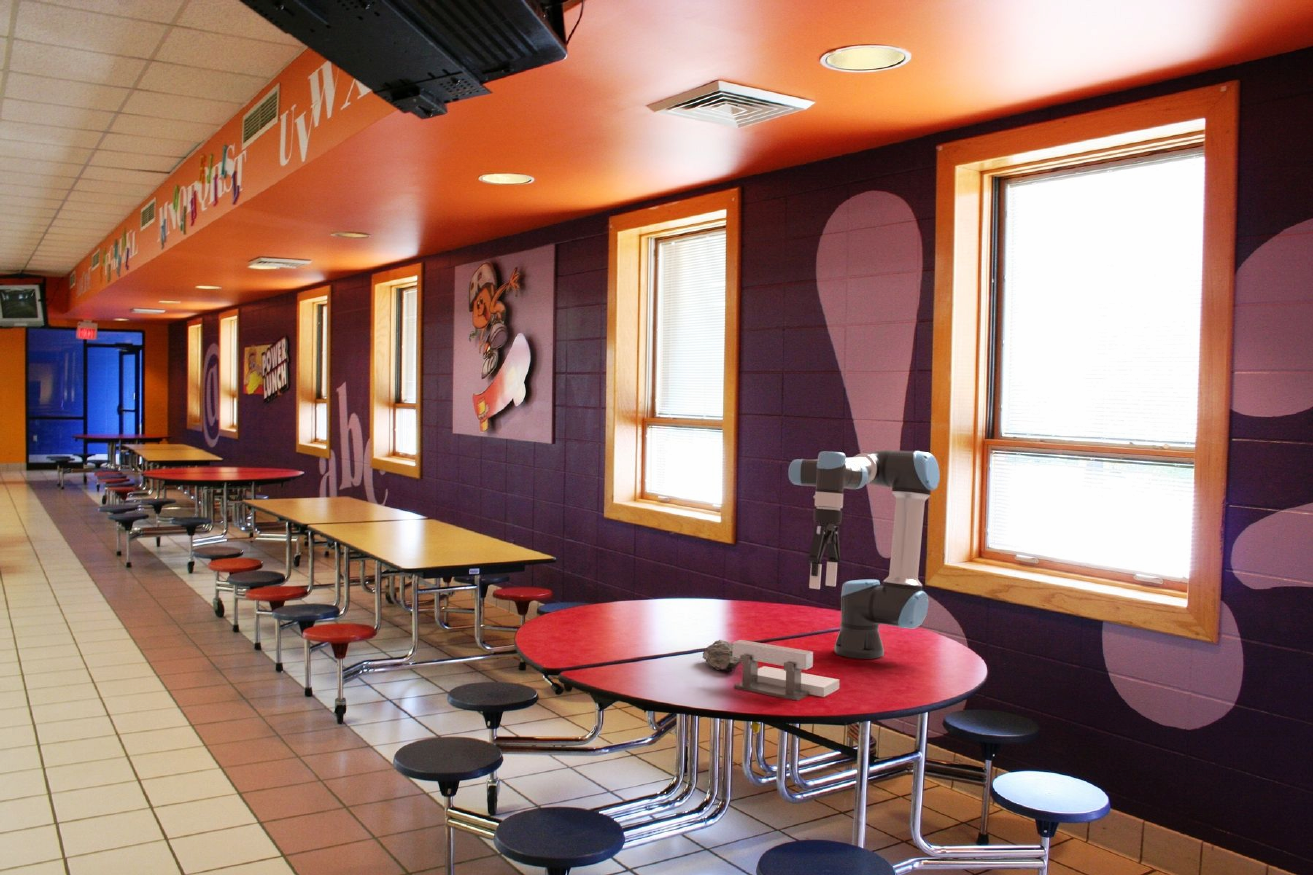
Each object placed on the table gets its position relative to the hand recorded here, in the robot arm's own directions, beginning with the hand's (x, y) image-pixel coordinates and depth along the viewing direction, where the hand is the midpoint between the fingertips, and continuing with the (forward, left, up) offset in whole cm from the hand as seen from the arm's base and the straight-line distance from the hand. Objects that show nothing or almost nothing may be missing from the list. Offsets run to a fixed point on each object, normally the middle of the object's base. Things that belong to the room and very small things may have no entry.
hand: (822, 587), depth 260 cm
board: (0, -8, -28) cm, 29 cm away
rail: (+9, -10, -20) cm, 24 cm away
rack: (+9, -10, -28) cm, 31 cm away
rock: (-5, -32, -28) cm, 43 cm away
